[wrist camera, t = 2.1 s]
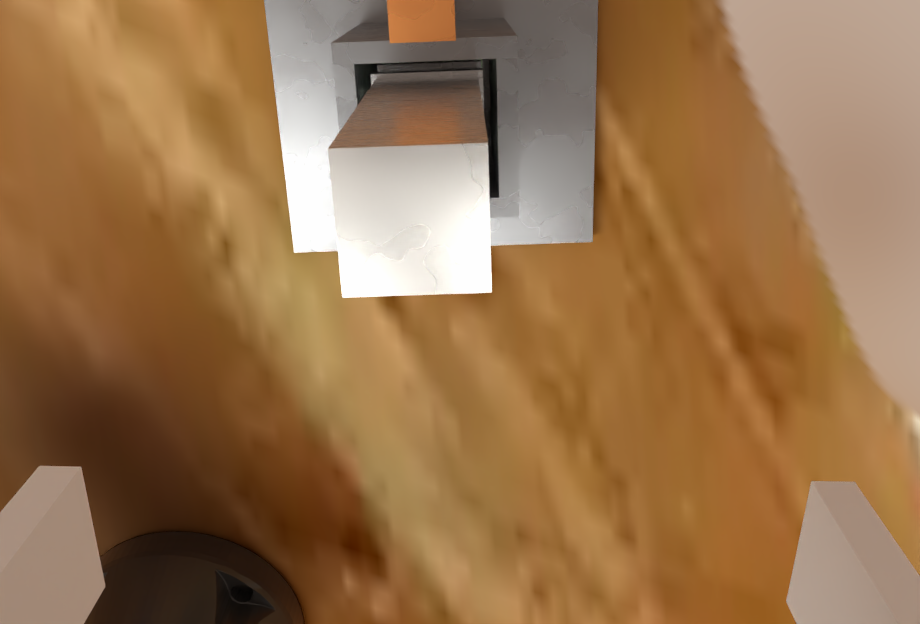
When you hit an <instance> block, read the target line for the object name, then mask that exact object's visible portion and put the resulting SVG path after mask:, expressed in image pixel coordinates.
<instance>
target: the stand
mask: <svg viewBox="0 0 920 624" xmlns="http://www.w3.org/2000/svg"><path fill="white" fill-rule="evenodd" d="M264 4H265V12H266V20H267V29H268V37H269V46H270V54H271V62H272V71H273V79H274V88H275V96H276V104H277V113H278V121H279V130H280V138H281V146H282V155H283V163H284V172H285V180H286V188H287V197H288V205H289V214H290V222H291V230H292V239H293V247H294V253H296V252H324V251H338V248H337V238H336V228H335V217H334V207H333V197H332V187H331V177H330V166H329V156H328V148H329V146H330V145H331V143H332V142H333V140H334V139H335V138H336V136H337V135H338V133H339V132H340V130H341V129H342V128H343V126H344V125H345V123H346V122H347V120H348V119H349V117H350V116H351V115H352V113H353V112H354V110H355V109H356V107H357V106H358V104H359V103H360V102H361V100H362V99H363V97H364V96H365V94H366V93H367V91H368V90H369V89H370V87H371V75H370V74H371V73H372V72H378V67H377V65H378V64H381V63H397V62H422V61H448V60H473V59H482V68H483V90H484V119H485V125H486V132H487V139H488V158H489V198H490V238H491V245H519V244H547V243H575V242H593V199H594V157H595V114H596V71H597V28H598V0H264Z"/></svg>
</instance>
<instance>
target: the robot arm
mask: <svg viewBox="0 0 920 624" xmlns="http://www.w3.org/2000/svg"><path fill="white" fill-rule="evenodd" d="M786 602H787V604H788V606H789V608H790V611H791V613H792V615H793V617H794V619H795V621H796V624H920V576H919V574H918V573H917V572H916V570H915V569H914V567H913V566H912V564H911V563H910V561H909V560H908V559H907V557H906V556H905V554H904V553H903V551H902V550H901V548H900V547H899V545H898V544H897V543H896V541H895V540H894V538H893V537H892V535H891V534H890V532H889V531H888V530H887V528H886V527H885V525H884V524H883V522H882V521H881V519H880V518H879V516H878V515H877V514H876V512H875V511H874V509H873V508H872V506H871V505H870V503H869V502H868V501H867V499H866V498H865V496H864V495H863V493H862V492H861V490H860V489H859V487H858V486H857V485H856V483H855V482H831V481H811V486H810V490H809V495H808V500H807V505H806V510H805V514H804V519H803V524H802V529H801V534H800V538H799V543H798V548H797V553H796V557H795V562H794V567H793V572H792V577H791V581H790V586H789V591H788V596H787V601H786ZM0 624H304V620H303V615H302V611H301V608H300V605H299V603H298V600H297V598H296V596H295V594H294V593H293V591H292V589H291V588H290V586H289V585H288V584H287V582H286V581H285V580H284V579H283V577H282V576H281V575H280V574H279V573H278V572H277V571H276V570H275V569H274V568H273V567H272V566H271V565H269V564H268V563H267V562H266V561H264V560H263V559H262V558H260V557H259V556H257V555H256V554H254V553H252V552H251V551H249V550H247V549H245V548H243V547H241V546H239V545H237V544H235V543H232V542H230V541H227V540H224V539H221V538H218V537H214V536H210V535H205V534H200V533H192V532H160V533H153V534H148V535H143V536H140V537H136V538H133V539H130V540H128V541H126V542H123V543H121V544H119V545H117V546H115V547H114V548H112V549H111V550H109V551H108V552H106V553H105V554H104V555H102V556H101V557H100V556H99V552H98V547H97V542H96V537H95V532H94V527H93V522H92V517H91V512H90V507H89V502H88V497H87V492H86V487H85V483H84V478H83V473H82V468H81V467H74V466H39V467H38V468H37V469H36V470H35V472H34V473H33V474H32V475H31V476H30V478H29V479H28V480H27V481H26V482H25V483H24V485H23V486H22V487H21V488H20V489H19V491H18V492H17V493H16V494H15V495H14V497H13V498H12V499H11V500H10V501H9V503H8V504H7V505H6V506H5V507H4V509H3V510H2V511H1V512H0Z"/></svg>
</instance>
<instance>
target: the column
mask: <svg viewBox="0 0 920 624" xmlns="http://www.w3.org/2000/svg"><path fill="white" fill-rule="evenodd" d="M377 67H378V72H372V73H371V74H370V75H371V87H370V89H369V90H368V91H367V93H366V94H365V96H364V97H363V99H362V100H361V102H360V103H359V104H358V106H357V107H356V109H355V110H354V112H353V113H352V115H351V116H350V117H349V119H348V120H347V122H346V123H345V125H344V126H343V128H342V129H341V130H340V132H339V133H338V135H337V136H336V138H335V139H334V140H333V142H332V143H331V145H330V146H329V148H328V156H329V166H330V177H331V187H332V197H333V207H334V217H335V228H336V238H337V248H338V258H339V268H340V279H341V289H342V298H348V297H376V296H405V295H433V294H462V293H490V292H492V278H491V238H490V198H489V158H488V139H487V132H486V125H485V119H484V90H483V68H482V59H473V60H448V61H422V62H397V63H381V64H378V65H377Z"/></svg>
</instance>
